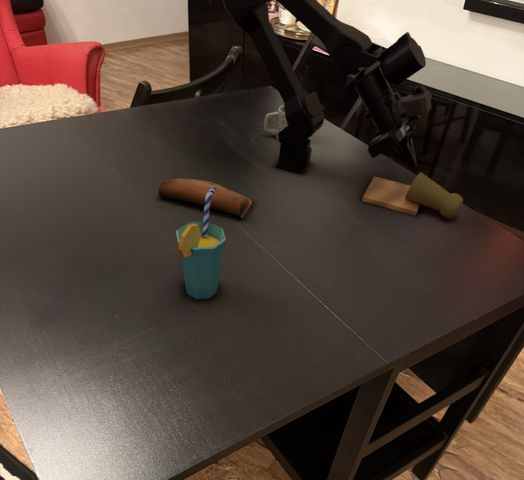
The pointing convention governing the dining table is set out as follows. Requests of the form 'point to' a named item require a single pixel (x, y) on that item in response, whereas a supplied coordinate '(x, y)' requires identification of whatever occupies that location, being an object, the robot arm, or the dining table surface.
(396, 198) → the cork mat
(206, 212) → the cup
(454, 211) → the pepper shaker
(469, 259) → the dining table surface
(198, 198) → the sunglasses case
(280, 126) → the mug
